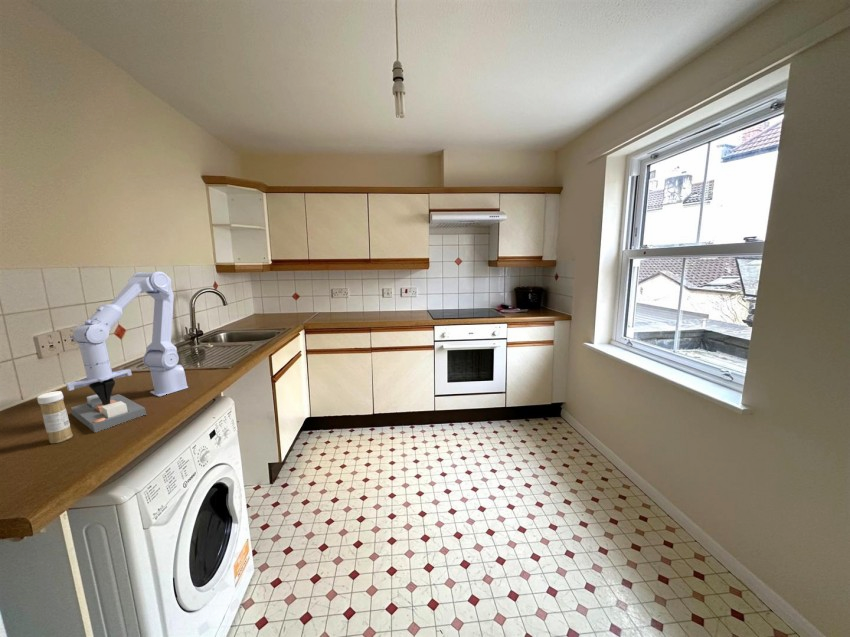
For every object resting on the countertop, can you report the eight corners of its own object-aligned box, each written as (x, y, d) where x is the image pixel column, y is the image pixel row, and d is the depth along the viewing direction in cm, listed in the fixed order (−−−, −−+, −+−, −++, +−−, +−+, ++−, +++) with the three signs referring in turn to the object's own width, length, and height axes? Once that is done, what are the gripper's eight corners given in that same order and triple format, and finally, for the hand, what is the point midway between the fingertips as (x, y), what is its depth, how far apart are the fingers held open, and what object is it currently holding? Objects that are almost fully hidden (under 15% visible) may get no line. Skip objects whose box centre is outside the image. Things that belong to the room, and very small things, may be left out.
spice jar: (60, 436, 94) (48, 391, 91) (78, 434, 94) (66, 389, 92) (44, 445, 89) (31, 398, 87) (62, 443, 90) (50, 396, 87)
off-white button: (123, 411, 105) (120, 400, 104) (128, 414, 102) (126, 403, 102) (104, 417, 101) (101, 406, 100) (109, 420, 99) (106, 409, 98)
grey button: (107, 401, 113) (104, 392, 112) (111, 404, 110) (109, 394, 110) (88, 406, 109) (86, 397, 108) (93, 409, 107) (90, 399, 106)
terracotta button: (115, 409, 109) (113, 399, 108) (120, 412, 107) (118, 402, 106) (96, 415, 105) (94, 404, 105) (101, 418, 103) (99, 408, 102)
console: (120, 400, 117) (118, 393, 117) (146, 415, 105) (144, 407, 104) (72, 414, 107) (70, 406, 107) (95, 432, 95) (92, 423, 94)
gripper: (67, 371, 95) (78, 416, 97) (131, 358, 107) (139, 397, 109) (60, 368, 98) (71, 411, 101) (123, 355, 110) (131, 393, 113)
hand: (106, 403), depth 105 cm, fingers closed, pressing on terracotta button
